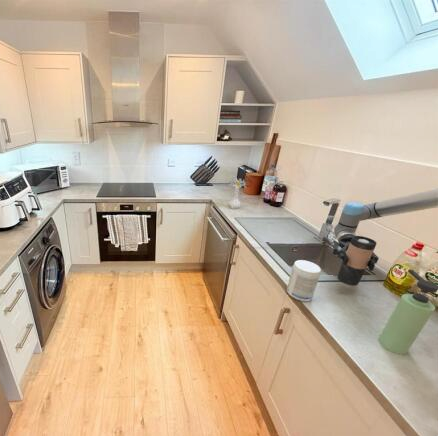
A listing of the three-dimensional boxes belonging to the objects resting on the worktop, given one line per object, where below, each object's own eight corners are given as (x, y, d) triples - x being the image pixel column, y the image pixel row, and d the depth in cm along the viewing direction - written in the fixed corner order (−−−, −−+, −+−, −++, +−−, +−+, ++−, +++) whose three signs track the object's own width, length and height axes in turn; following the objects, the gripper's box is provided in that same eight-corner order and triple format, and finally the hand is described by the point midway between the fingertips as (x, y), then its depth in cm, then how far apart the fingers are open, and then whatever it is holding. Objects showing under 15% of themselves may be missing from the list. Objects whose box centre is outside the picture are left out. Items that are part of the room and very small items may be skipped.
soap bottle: (402, 341, 80) (432, 293, 72) (410, 358, 75) (443, 308, 66) (375, 333, 84) (401, 286, 75) (381, 348, 78) (409, 299, 70)
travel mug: (362, 288, 97) (381, 246, 89) (340, 284, 100) (356, 242, 92) (354, 277, 104) (371, 237, 96) (334, 273, 106) (349, 234, 98)
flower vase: (236, 203, 207) (241, 175, 197) (245, 211, 190) (251, 181, 181) (222, 203, 207) (226, 175, 197) (229, 211, 190) (234, 181, 180)
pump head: (437, 298, 68) (442, 290, 67) (419, 295, 69) (424, 286, 68) (414, 277, 76) (419, 270, 75) (399, 275, 78) (403, 267, 76)
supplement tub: (317, 300, 99) (328, 271, 93) (298, 304, 96) (308, 275, 90) (298, 285, 107) (307, 258, 101) (280, 289, 105) (288, 261, 99)
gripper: (372, 253, 109) (389, 280, 90) (320, 242, 118) (325, 265, 100) (379, 238, 106) (397, 264, 88) (324, 229, 115) (330, 250, 97)
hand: (359, 264), depth 94 cm, fingers closed on travel mug, 7 cm apart
